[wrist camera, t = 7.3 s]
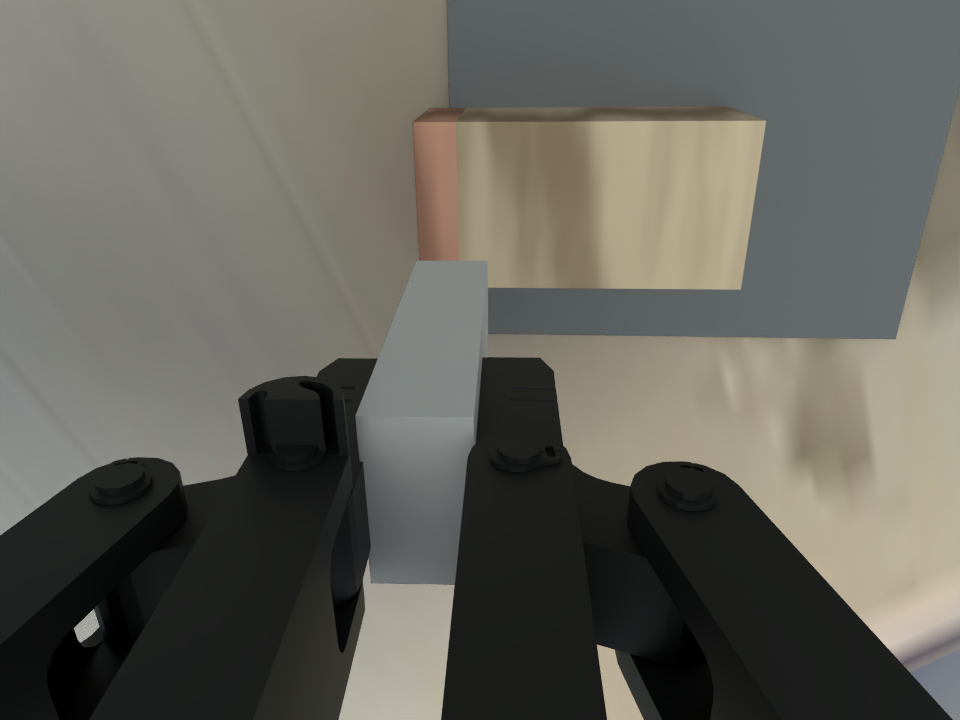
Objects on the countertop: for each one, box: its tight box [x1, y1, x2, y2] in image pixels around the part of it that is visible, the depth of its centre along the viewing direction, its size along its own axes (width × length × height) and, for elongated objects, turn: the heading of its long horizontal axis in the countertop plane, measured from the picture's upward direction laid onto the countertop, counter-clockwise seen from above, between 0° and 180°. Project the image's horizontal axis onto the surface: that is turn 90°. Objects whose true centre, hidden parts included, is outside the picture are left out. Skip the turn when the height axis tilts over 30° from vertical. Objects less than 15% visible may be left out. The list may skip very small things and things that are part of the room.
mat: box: [447, 0, 960, 339], centre depth 30 cm, size 20×14×1 cm
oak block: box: [413, 106, 766, 290], centre depth 28 cm, size 5×6×12 cm
